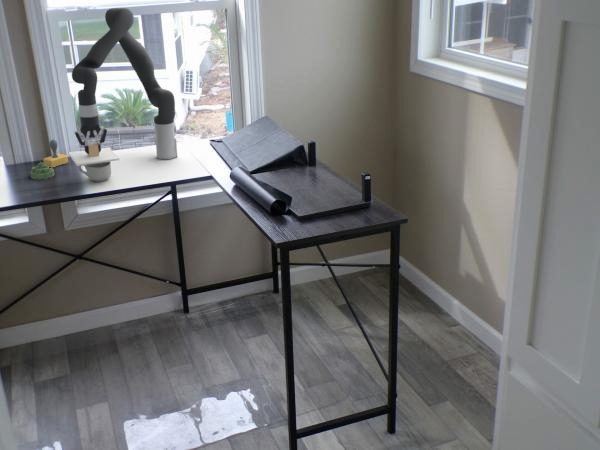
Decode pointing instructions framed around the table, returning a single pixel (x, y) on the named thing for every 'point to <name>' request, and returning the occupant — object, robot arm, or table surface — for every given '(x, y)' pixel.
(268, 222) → the table surface
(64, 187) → the table surface
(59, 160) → the rubber stamp
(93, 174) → the teacup
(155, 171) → the table surface
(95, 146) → the square lid with knob
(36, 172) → the decorative artifact
